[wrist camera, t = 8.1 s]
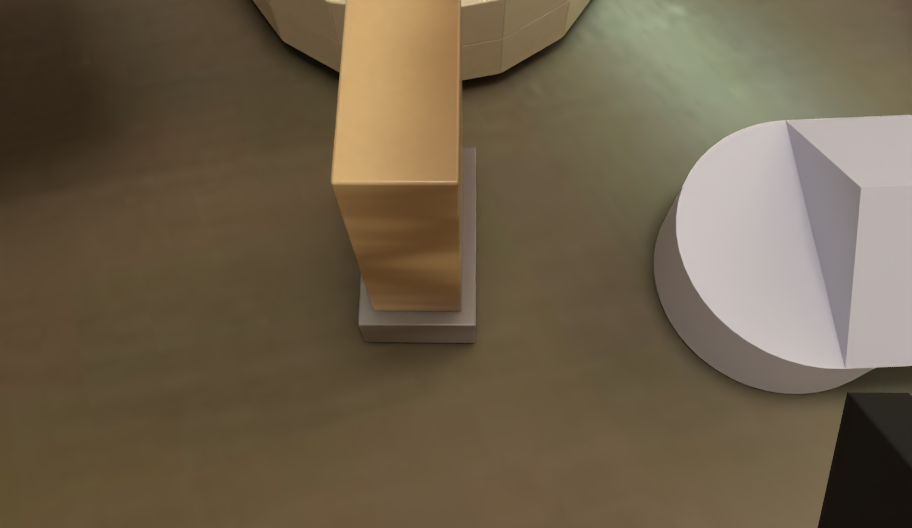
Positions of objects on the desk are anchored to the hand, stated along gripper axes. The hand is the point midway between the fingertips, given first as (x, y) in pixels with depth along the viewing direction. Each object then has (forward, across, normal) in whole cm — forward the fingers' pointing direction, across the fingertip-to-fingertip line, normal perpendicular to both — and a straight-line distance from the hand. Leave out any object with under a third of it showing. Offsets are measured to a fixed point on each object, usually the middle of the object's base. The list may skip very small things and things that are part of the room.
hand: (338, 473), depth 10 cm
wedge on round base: (+18, +15, -5) cm, 24 cm away
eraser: (+19, 0, -4) cm, 19 cm away
